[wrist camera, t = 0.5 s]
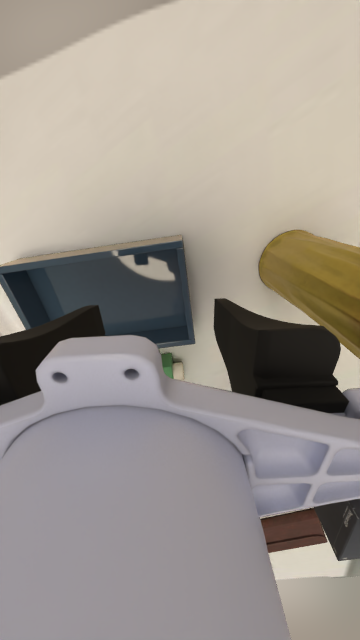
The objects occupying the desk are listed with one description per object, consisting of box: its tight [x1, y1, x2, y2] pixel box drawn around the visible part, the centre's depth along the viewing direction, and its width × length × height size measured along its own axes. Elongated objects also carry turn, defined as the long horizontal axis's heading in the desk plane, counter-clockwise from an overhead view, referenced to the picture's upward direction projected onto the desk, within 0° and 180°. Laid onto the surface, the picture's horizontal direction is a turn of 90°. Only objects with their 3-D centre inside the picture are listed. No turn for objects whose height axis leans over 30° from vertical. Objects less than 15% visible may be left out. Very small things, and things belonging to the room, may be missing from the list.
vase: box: [259, 230, 360, 359], centre depth 15 cm, size 6×6×14 cm
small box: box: [314, 499, 360, 561], centre depth 31 cm, size 13×7×12 cm, turn 10°
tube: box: [161, 353, 184, 380], centre depth 27 cm, size 12×4×3 cm, turn 98°
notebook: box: [261, 508, 327, 553], centre depth 52 cm, size 15×20×2 cm
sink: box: [0, 235, 195, 348], centre depth 22 cm, size 10×16×4 cm, turn 98°
